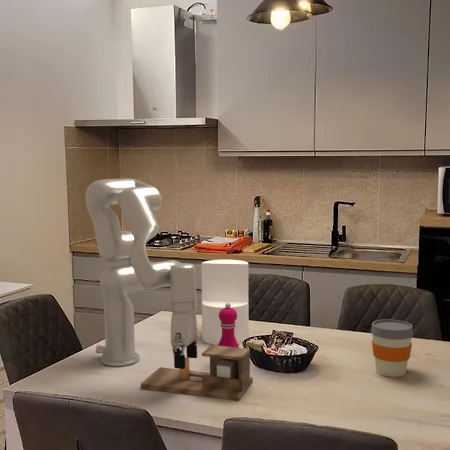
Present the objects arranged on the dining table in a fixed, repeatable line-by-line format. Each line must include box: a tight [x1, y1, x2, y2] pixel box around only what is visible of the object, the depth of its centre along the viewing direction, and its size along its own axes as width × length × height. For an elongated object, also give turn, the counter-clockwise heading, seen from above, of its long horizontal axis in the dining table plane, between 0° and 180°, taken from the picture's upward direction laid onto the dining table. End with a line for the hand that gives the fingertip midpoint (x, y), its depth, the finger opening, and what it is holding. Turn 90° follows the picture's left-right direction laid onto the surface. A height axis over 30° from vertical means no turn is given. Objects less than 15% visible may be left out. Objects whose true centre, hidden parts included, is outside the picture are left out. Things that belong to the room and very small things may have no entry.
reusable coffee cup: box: [370, 318, 414, 378], centre depth 187 cm, size 13×13×15 cm
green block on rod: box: [179, 356, 235, 381], centre depth 177 cm, size 16×5×6 cm, turn 72°
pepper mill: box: [217, 303, 240, 348], centre depth 196 cm, size 7×7×20 cm
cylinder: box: [201, 259, 250, 346], centre depth 222 cm, size 17×17×28 cm
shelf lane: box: [140, 344, 254, 401], centre depth 177 cm, size 30×14×11 cm, turn 72°
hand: (186, 362), depth 178 cm, fingers open, 9 cm apart
